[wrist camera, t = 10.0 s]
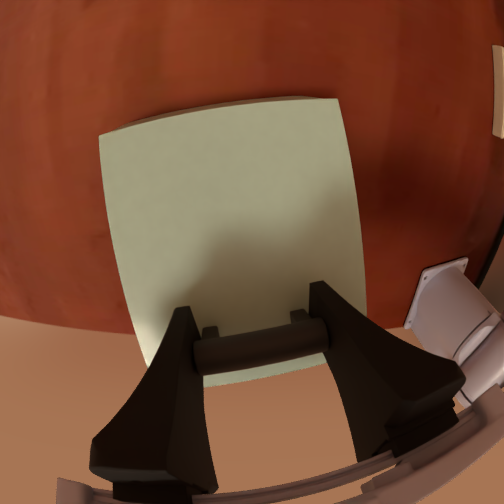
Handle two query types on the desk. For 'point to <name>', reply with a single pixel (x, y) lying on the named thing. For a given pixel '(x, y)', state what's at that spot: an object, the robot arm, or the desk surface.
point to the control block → (498, 91)
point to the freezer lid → (236, 230)
